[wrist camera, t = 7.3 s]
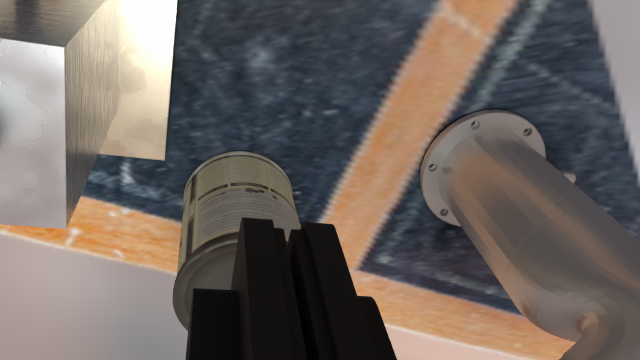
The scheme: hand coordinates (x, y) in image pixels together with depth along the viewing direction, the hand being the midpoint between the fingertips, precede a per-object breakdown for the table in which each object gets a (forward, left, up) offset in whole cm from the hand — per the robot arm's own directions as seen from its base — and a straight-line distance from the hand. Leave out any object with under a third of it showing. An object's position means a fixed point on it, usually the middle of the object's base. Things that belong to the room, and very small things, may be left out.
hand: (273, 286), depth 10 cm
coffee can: (-3, +20, -37) cm, 42 cm away
